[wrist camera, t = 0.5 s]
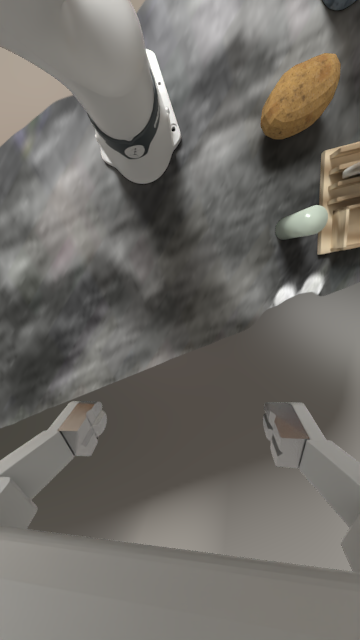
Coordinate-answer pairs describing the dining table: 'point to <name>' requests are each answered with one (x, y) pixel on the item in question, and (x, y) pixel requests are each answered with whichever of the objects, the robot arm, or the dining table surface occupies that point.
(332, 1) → the moka pot
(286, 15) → the dining table surface
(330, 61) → the potato
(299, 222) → the pale green glossy part
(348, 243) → the rack
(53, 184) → the dining table surface
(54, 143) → the dining table surface
